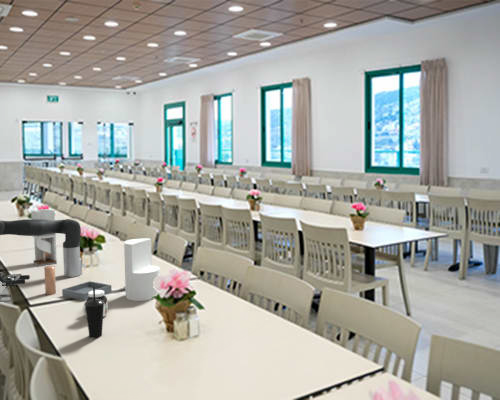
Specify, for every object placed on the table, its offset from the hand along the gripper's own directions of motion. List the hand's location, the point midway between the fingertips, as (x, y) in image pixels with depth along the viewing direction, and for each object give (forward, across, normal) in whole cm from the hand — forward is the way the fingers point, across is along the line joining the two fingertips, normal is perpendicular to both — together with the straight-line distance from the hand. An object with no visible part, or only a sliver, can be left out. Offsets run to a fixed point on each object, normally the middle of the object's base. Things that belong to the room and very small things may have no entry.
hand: (27, 279), depth 255 cm
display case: (-7, +72, +8) cm, 72 cm away
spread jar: (+38, -41, +8) cm, 57 cm away
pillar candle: (+11, 0, +8) cm, 14 cm away
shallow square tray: (+30, -4, +8) cm, 31 cm away
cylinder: (+58, -12, +8) cm, 60 cm away
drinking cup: (+42, -65, +8) cm, 77 cm away
